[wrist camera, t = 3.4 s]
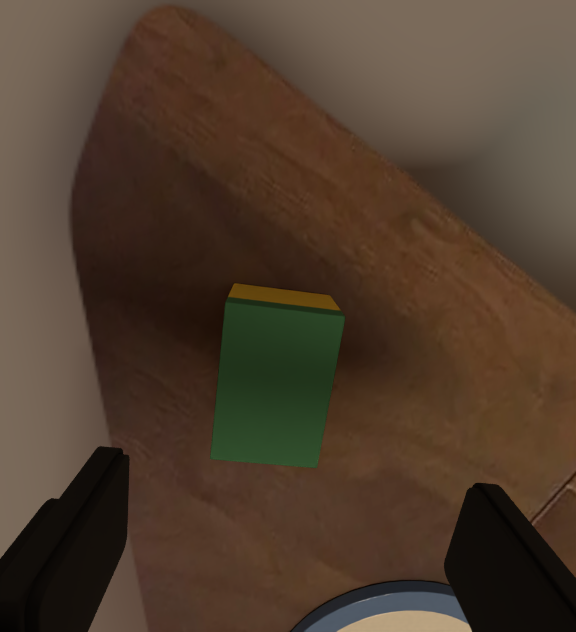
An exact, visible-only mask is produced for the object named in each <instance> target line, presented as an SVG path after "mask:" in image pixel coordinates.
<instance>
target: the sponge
mask: <svg viewBox="0 0 576 632" xmlns="http://www.w3.org/2000/svg"><path fill="white" fill-rule="evenodd" d="M344 322H345V316H344V314H343V313H342V312H341V310H340V309H339V307H338V306H337V305H336V303H335V302H334V300H333V299H332V298H331V296H330V295H324V294H316V293H308V292H300V291H292V290H284V289H276V288H268V287H261V286H253V285H245V284H237V283H234V284H233V287H232V289H231V291H230V293H229V296H228V298H227V300H226V302H225V310H224V321H223V331H222V341H221V352H220V362H219V372H218V382H217V393H216V403H215V413H214V423H213V434H212V444H211V454H210V459H214V460H226V461H238V462H250V463H262V464H274V465H286V466H298V467H310V468H317V465H318V459H319V454H320V449H321V444H322V438H323V433H324V428H325V422H326V417H327V412H328V407H329V401H330V396H331V391H332V385H333V380H334V375H335V370H336V364H337V359H338V354H339V349H340V343H341V338H342V333H343V327H344Z"/></svg>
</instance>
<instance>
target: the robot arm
mask: <svg viewBox="0 0 576 632" xmlns="http://www.w3.org/2000/svg"><path fill="white" fill-rule="evenodd" d="M128 490H129V455H124V454H123V450H122V449H121V448H112V447H102V446H100V447H98V448H97V449H96V450H95V451H94V453H93V454H92V455H91V457H90V458H89V459H88V461H87V462H86V463H85V465H84V466H83V467H82V469H81V470H80V472H79V473H78V474H77V476H76V477H75V478H74V480H73V481H72V482H71V483H70V485H69V486H68V488H67V489H66V490H65V492H64V493H63V494H62V496H61V497H60V498H59V499H54V498H51V499H49V500H47V501H46V502H45V503H44V504H43V505H42V507H41V508H40V509H39V510H38V512H37V513H36V514H35V516H34V517H33V518H32V519H31V520H30V522H29V523H28V524H27V526H26V527H25V528H24V529H23V531H22V532H21V533H20V535H19V536H18V537H17V538H16V540H15V541H14V542H13V543H12V545H11V546H10V547H9V548H8V550H7V551H6V552H5V554H4V555H3V556H2V557H1V559H0V632H88V630H89V628H90V626H91V623H92V621H93V619H94V616H95V614H96V612H97V610H98V607H99V605H100V603H101V601H102V598H103V596H104V594H105V592H106V589H107V587H108V585H109V583H110V580H111V578H112V576H113V574H114V571H115V569H116V567H117V565H118V562H119V560H120V558H121V555H122V553H123V551H124V548H125V544H126V540H127V523H128ZM444 569H445V574H446V577H447V579H448V582H449V584H450V586H451V588H452V590H453V592H454V594H455V596H456V599H457V601H458V603H459V605H460V607H461V609H462V611H463V613H464V616H465V618H466V620H467V622H468V624H469V626H470V628H471V630H472V632H576V578H575V577H574V576H573V574H572V573H571V572H570V571H569V569H568V568H567V567H566V566H565V565H564V563H563V562H562V561H561V560H560V558H559V557H558V556H557V555H556V554H555V552H554V551H553V550H552V549H551V547H550V546H549V545H548V544H547V543H546V541H545V540H544V539H543V538H542V537H541V535H540V534H539V533H538V532H537V530H536V529H535V528H534V527H533V526H532V524H531V523H530V522H529V521H528V519H527V518H526V517H525V516H524V515H523V513H522V512H521V511H520V510H519V509H518V507H517V506H516V505H515V504H514V502H513V501H512V500H511V499H510V498H509V496H508V495H507V494H506V493H505V491H504V490H503V489H502V488H501V487H500V486H499V485H496V484H486V483H475V484H474V485H473V487H472V488H469V489H468V490H467V492H466V496H465V499H464V502H463V505H462V508H461V511H460V514H459V517H458V521H457V524H456V527H455V530H454V533H453V536H452V539H451V542H450V546H449V549H448V552H447V555H446V558H445V562H444Z"/></svg>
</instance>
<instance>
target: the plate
mask: <svg viewBox="0 0 576 632" xmlns="http://www.w3.org/2000/svg"><path fill="white" fill-rule="evenodd" d="M291 632H472V630H471V628H470V626H469V624H468V622H467V620H466V618H465V616H464V613H463V611H462V609H461V607H460V605H459V603H458V601H457V599H456V596H455V594H454V592H453V590H452V588H451V586H449V585H444V584H440V583H434V582H425V581H398V582H387V583H382V584H377V585H372V586H368V587H364V588H361V589H358V590H354V591H351V592H349V593H347V594H344V595H342V596H339V597H337V598H335V599H333V600H331V601H329V602H328V603H326V604H324V605H322V606H321V607H319V608H318V609H316V610H315V611H313V612H312V613H310V614H309V615H308V616H307V617H306V618H304V619H303V620H302V621H301V622H300V623H299V624H297V626H296V627H295V628H294V629H293V630H292V631H291Z"/></svg>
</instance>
